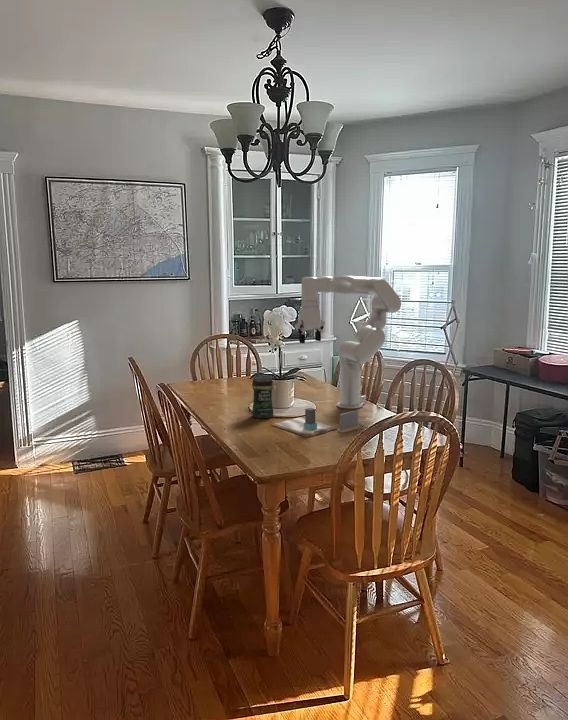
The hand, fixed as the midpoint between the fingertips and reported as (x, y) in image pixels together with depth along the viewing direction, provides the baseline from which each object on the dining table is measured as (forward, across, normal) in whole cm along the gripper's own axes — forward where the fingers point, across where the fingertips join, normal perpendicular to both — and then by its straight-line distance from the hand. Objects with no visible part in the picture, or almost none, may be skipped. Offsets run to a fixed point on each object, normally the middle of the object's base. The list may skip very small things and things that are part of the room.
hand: (310, 341), depth 267 cm
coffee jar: (+34, +21, -9) cm, 41 cm away
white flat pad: (+33, +18, +16) cm, 41 cm away
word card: (+33, +6, +31) cm, 46 cm away
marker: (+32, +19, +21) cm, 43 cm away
